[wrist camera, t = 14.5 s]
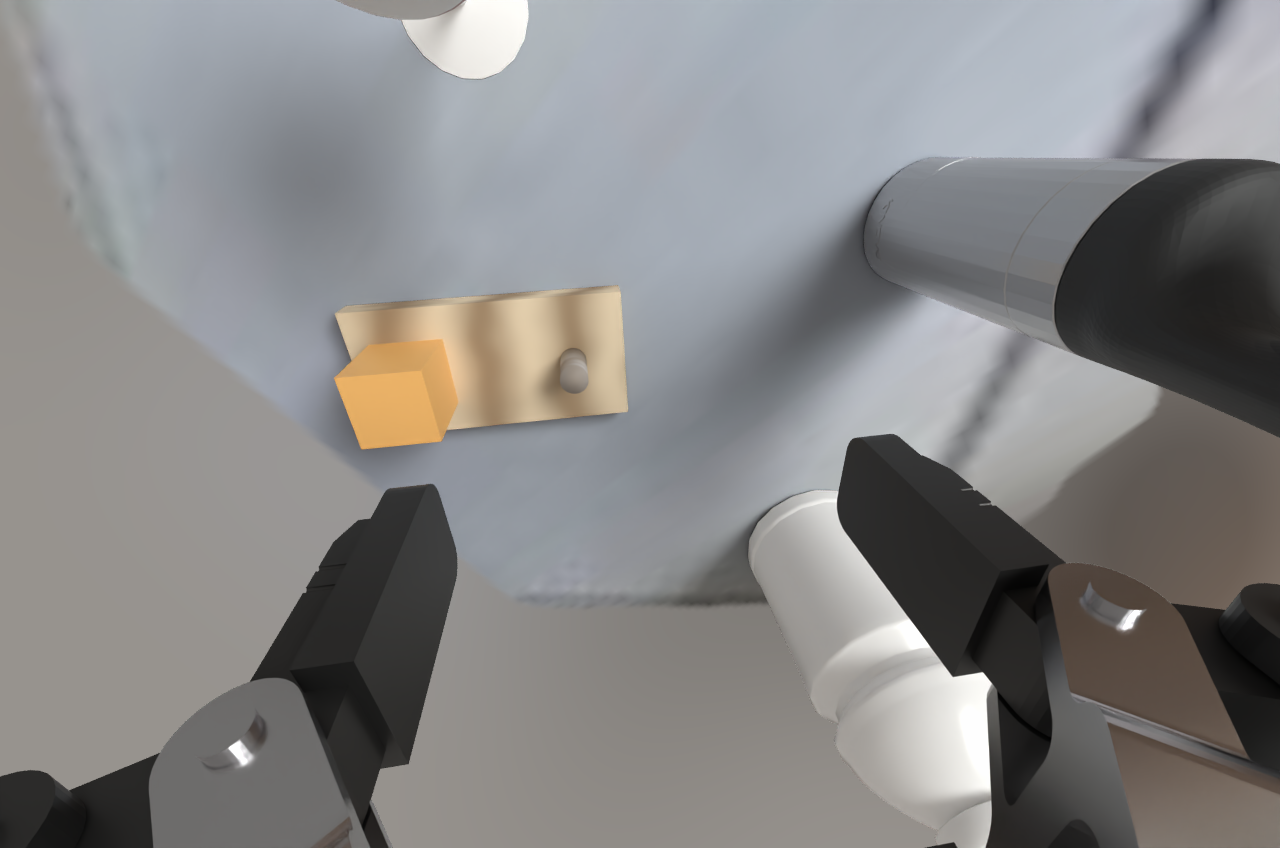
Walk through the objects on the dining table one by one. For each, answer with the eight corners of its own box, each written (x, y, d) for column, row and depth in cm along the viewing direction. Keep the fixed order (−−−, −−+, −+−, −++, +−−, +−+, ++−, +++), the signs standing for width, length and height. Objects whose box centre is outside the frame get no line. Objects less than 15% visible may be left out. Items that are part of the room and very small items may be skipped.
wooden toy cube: (442, 338, 35) (421, 370, 30) (458, 402, 38) (441, 441, 33) (368, 345, 35) (333, 378, 30) (389, 408, 37) (361, 449, 32)
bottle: (721, 566, 54) (849, 904, 29) (791, 469, 48) (1019, 785, 24) (818, 594, 58) (998, 907, 34) (892, 509, 53) (1168, 807, 29)
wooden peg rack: (617, 285, 37) (626, 306, 32) (625, 401, 42) (633, 435, 37) (346, 305, 35) (308, 331, 30) (387, 424, 40) (360, 464, 35)
